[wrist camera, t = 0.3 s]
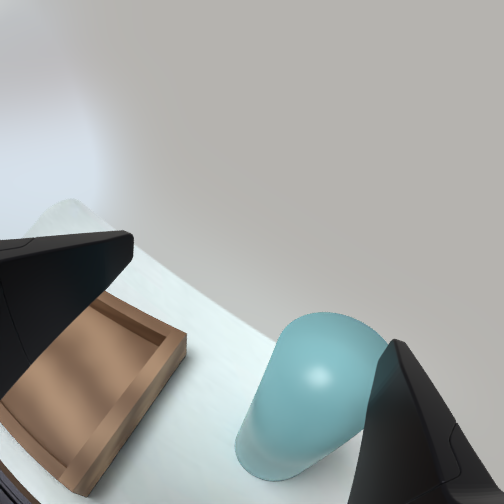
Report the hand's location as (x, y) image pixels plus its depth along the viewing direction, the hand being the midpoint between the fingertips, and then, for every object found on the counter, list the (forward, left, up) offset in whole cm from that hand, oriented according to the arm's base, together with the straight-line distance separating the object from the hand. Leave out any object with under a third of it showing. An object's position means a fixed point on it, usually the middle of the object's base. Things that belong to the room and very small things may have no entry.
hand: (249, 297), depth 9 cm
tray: (-1, +13, -16) cm, 21 cm away
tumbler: (+2, -4, -16) cm, 17 cm away
